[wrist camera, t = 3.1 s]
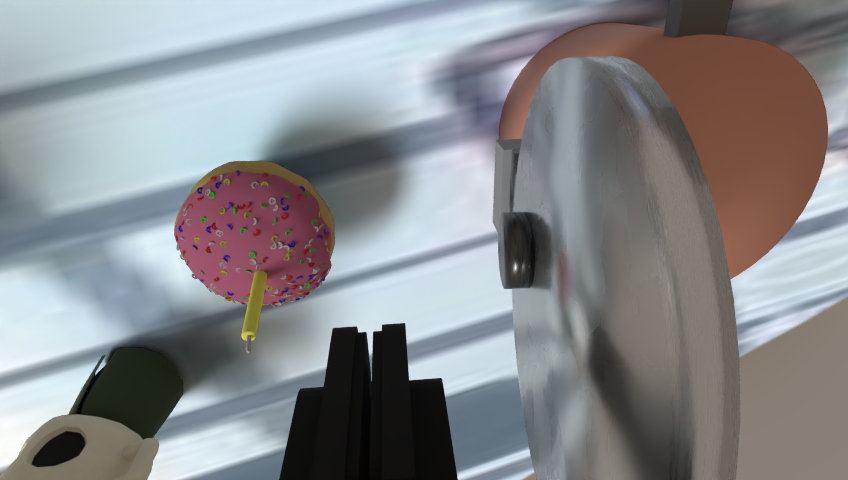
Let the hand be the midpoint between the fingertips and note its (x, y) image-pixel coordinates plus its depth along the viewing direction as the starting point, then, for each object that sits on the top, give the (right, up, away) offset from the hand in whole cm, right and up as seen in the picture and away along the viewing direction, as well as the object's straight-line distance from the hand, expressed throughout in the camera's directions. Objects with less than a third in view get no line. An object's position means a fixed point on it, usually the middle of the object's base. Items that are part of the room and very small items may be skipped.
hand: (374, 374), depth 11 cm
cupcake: (-8, +5, +20) cm, 22 cm away
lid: (+6, +2, +2) cm, 6 cm away
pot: (+11, +10, +19) cm, 24 cm away
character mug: (-20, -7, +25) cm, 33 cm away
